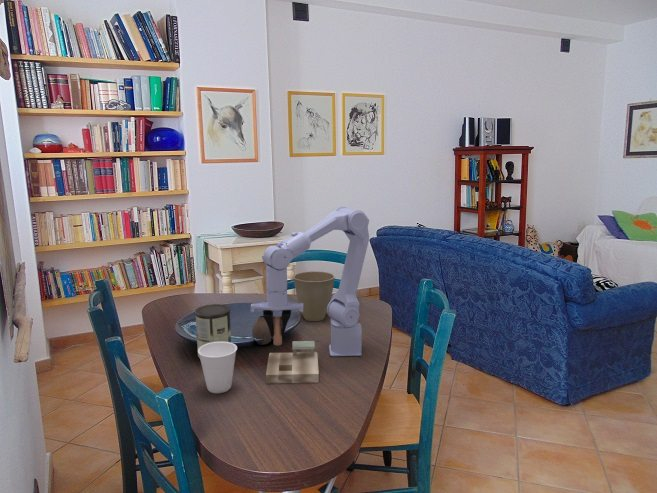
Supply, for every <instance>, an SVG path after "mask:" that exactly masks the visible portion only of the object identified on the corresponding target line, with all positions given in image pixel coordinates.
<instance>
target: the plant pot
mask: <svg viewBox="0 0 657 493" xmlns="http://www.w3.org/2000/svg"><path fill="white" fill-rule="evenodd" d="M335 278H336V275H335V274H334V273H330V272H328V271H327V272H326V271H320V270H318V271H315V270H314V271H312V270H310V271H303V272H302V271H301V272H297V273H296V274H294V275H293V282H294V289H295V294H296V297H297V301H298V302H297V303H303V312H301V313H302V316H303V319H305V320H306V321H310V322H320V321H323V320H324V319H325V318H326V315H327V306H328V304H329V303H330V301H331V300H332V296H333V290H334V285H335V284H334V283H335Z"/></svg>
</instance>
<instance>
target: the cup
mask: <svg viewBox="0 0 657 493" xmlns="http://www.w3.org/2000/svg"><path fill="white" fill-rule="evenodd" d="M237 350H238V346H237V344H235V343H233V342H231V343H230V342H222V341H221V342H212V343H208V344H205V345H203V346H201V347H200V348H199V349H198V348H197V355H198V354H199V356H200V358H199V359H200V363H201V368H202V373H203V375H204V380H205V385H206V389H207V390H208V391H209V392H210V393H212V394H222V393H226V392H228V391H229V390H230V389H231V388H232V383H233V378H234V377H233V376H234V375H233V374H234V369H235V360H236V354H237Z"/></svg>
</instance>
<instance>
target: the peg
mask: <svg viewBox="0 0 657 493" xmlns="http://www.w3.org/2000/svg"><path fill="white" fill-rule="evenodd" d="M272 340H273V345H274V346H281V345H283V337H282V315H278V314H277V315H273V338H272Z"/></svg>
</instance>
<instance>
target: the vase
mask: <svg viewBox="0 0 657 493" xmlns="http://www.w3.org/2000/svg"><path fill="white" fill-rule="evenodd" d="M251 336H252V339H253V338H256V339H263V340H264V341H263V342H261V344H260V346H261V345H262V346H264V345H265V346H266V345H268V344H269V343H270V342H272V340H271V338H270V337H271V334H270V330H269V327H268V325H267V323H266V321H265V319H264V317H263V314H262V315H259V316H258V318H257V319H256V321H255V322H254V323H253V326H252V328H251Z"/></svg>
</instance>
